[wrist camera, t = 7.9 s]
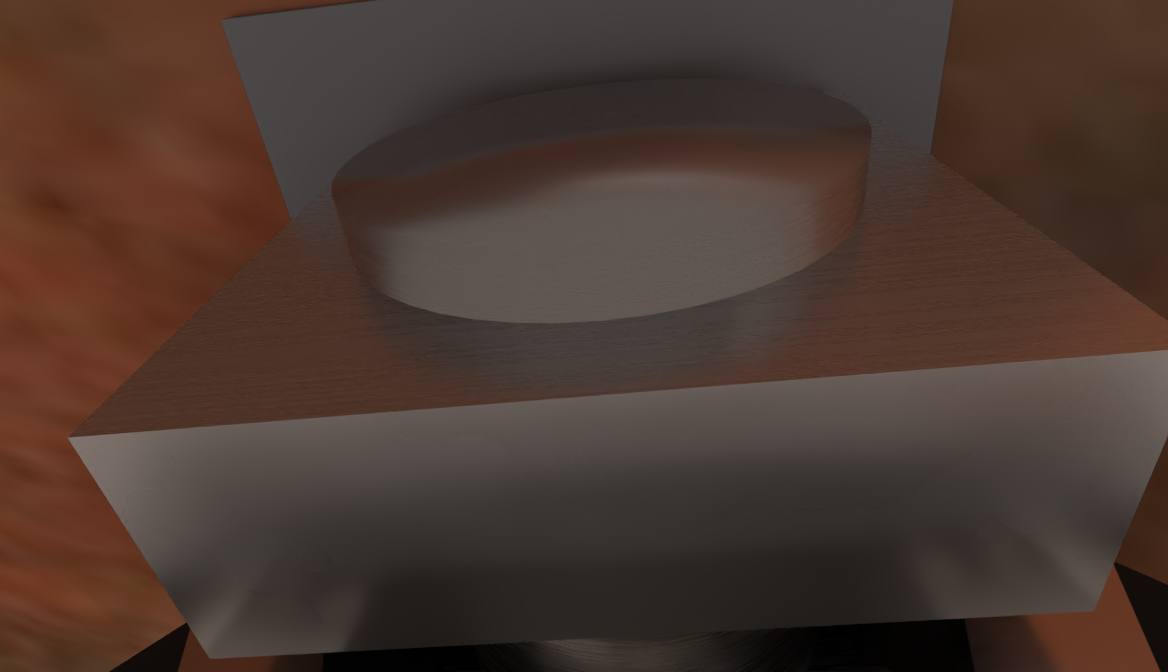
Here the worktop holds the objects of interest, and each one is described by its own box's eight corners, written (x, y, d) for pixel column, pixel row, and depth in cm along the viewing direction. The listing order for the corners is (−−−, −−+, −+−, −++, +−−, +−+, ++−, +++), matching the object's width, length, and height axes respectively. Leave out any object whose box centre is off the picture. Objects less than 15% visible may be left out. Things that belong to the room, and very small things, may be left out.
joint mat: (873, 483, 14) (878, 494, 14) (403, 517, 15) (400, 527, 15) (954, -74, 9) (964, -74, 9) (230, 17, 10) (220, 20, 9)
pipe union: (804, 529, 14) (948, 953, 8) (481, 550, 14) (405, 964, 8) (842, 43, 9) (1247, 244, 3) (359, 98, 9) (15, 355, 4)
